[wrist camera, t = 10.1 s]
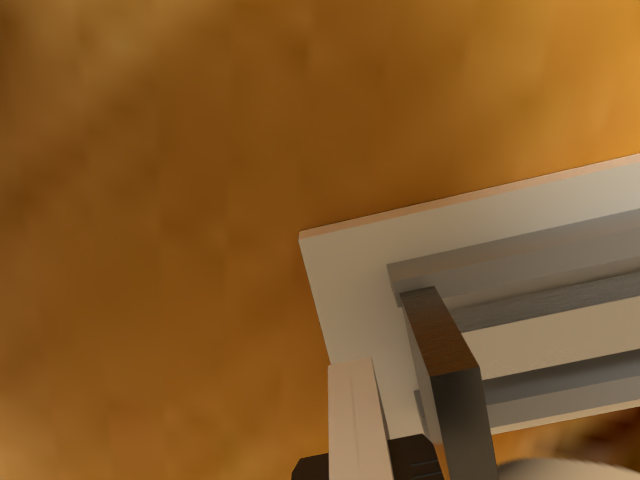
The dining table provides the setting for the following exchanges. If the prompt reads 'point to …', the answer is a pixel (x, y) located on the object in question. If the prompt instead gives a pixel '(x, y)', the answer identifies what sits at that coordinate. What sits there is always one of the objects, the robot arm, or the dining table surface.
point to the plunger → (506, 354)
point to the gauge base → (482, 284)
